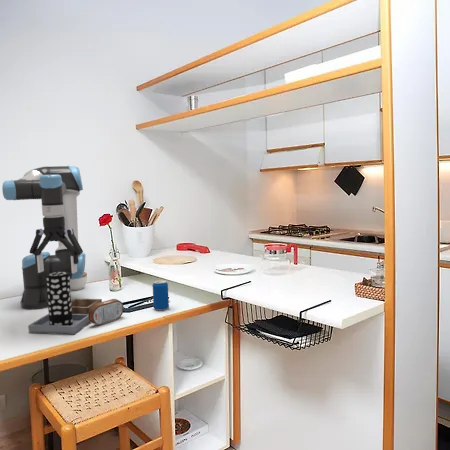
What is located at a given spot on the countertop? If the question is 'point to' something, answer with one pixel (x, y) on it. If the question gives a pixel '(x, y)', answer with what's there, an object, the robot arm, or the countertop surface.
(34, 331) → the tray
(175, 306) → the countertop surface
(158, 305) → the beverage can
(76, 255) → the robot arm
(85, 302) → the holder
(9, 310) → the countertop surface
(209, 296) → the countertop surface
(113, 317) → the tin
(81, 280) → the lidded jar
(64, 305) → the white-spotted black cylinder
